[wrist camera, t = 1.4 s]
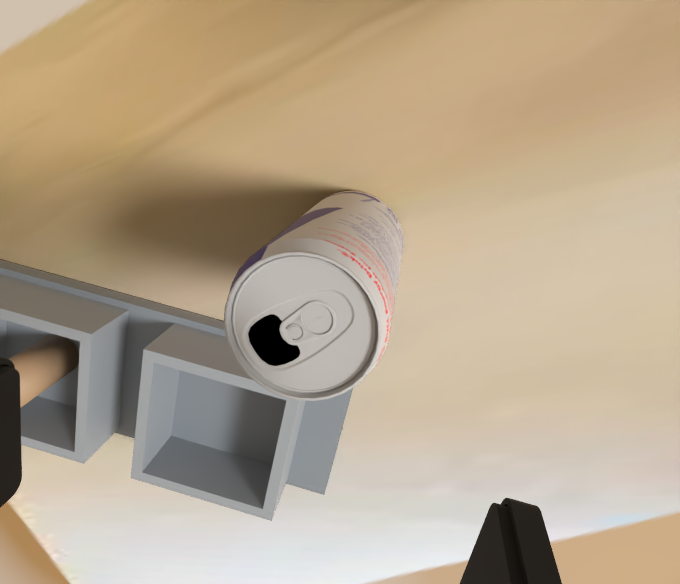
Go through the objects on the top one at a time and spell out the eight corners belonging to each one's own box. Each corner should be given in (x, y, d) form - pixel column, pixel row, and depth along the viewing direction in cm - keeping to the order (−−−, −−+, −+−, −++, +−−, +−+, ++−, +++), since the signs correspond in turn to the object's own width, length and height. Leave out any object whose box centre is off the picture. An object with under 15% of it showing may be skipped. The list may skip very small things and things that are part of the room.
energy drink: (283, 222, 27) (184, 295, 16) (371, 169, 26) (329, 210, 14) (335, 306, 28) (277, 431, 17) (422, 261, 27) (421, 365, 15)
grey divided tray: (-23, 380, 34) (-113, 432, 28) (-27, 251, 31) (-129, 281, 25) (327, 483, 32) (306, 561, 26) (360, 359, 29) (345, 417, 23)
